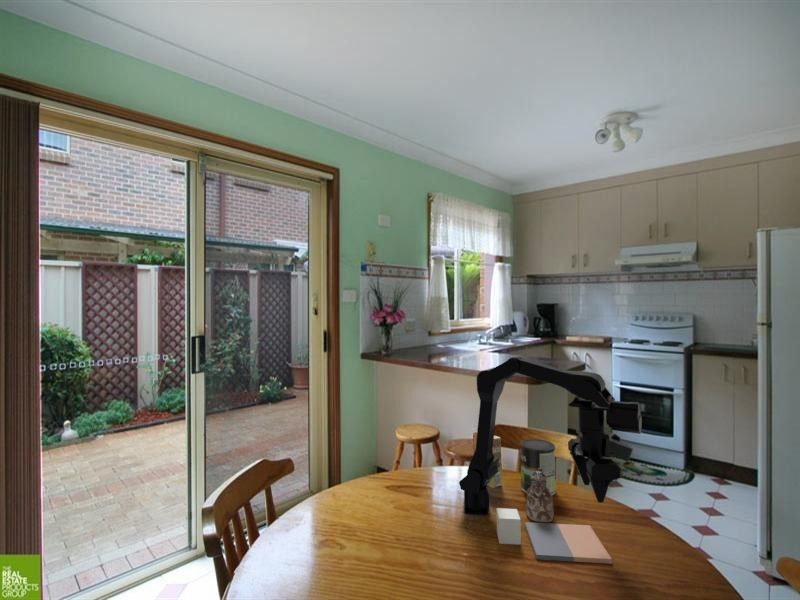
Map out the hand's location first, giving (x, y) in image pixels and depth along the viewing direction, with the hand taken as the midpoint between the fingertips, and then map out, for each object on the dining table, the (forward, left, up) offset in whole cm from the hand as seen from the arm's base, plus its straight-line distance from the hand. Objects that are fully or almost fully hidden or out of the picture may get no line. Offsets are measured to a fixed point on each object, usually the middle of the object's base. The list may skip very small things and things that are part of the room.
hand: (593, 493), depth 96 cm
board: (-7, 0, -12) cm, 14 cm away
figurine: (-10, +13, -12) cm, 20 cm away
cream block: (-20, +1, -12) cm, 23 cm away
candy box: (-22, +33, -12) cm, 41 cm away
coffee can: (-7, +29, -12) cm, 32 cm away
